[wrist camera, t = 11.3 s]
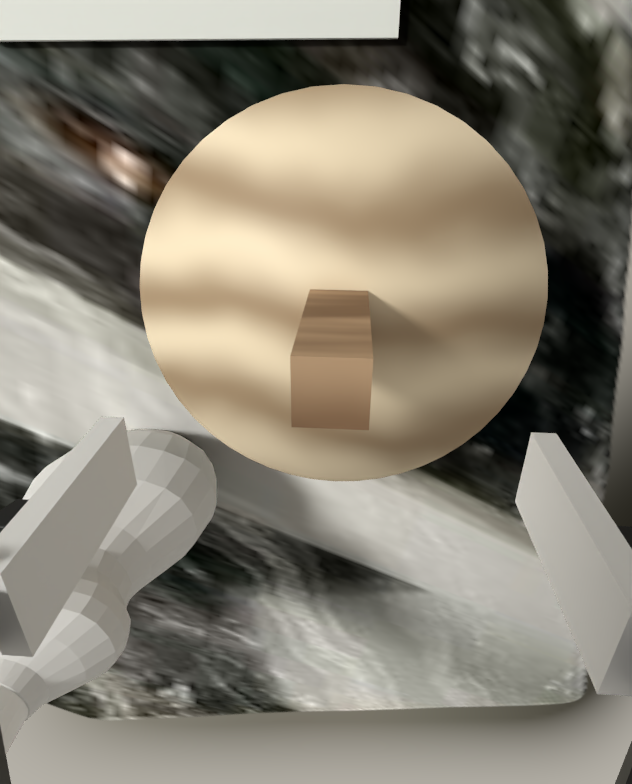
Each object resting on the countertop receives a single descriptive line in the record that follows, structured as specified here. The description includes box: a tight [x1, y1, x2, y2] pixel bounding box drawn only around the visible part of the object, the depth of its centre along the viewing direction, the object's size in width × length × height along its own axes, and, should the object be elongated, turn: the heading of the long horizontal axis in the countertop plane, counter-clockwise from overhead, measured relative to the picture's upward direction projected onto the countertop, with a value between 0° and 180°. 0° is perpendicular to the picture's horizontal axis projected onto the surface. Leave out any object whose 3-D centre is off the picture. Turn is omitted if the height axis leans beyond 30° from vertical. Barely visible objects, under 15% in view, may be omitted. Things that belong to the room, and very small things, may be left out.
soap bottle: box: [0, 429, 217, 754], centre depth 35 cm, size 17×12×29 cm
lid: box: [140, 84, 548, 481], centre depth 27 cm, size 24×24×11 cm
